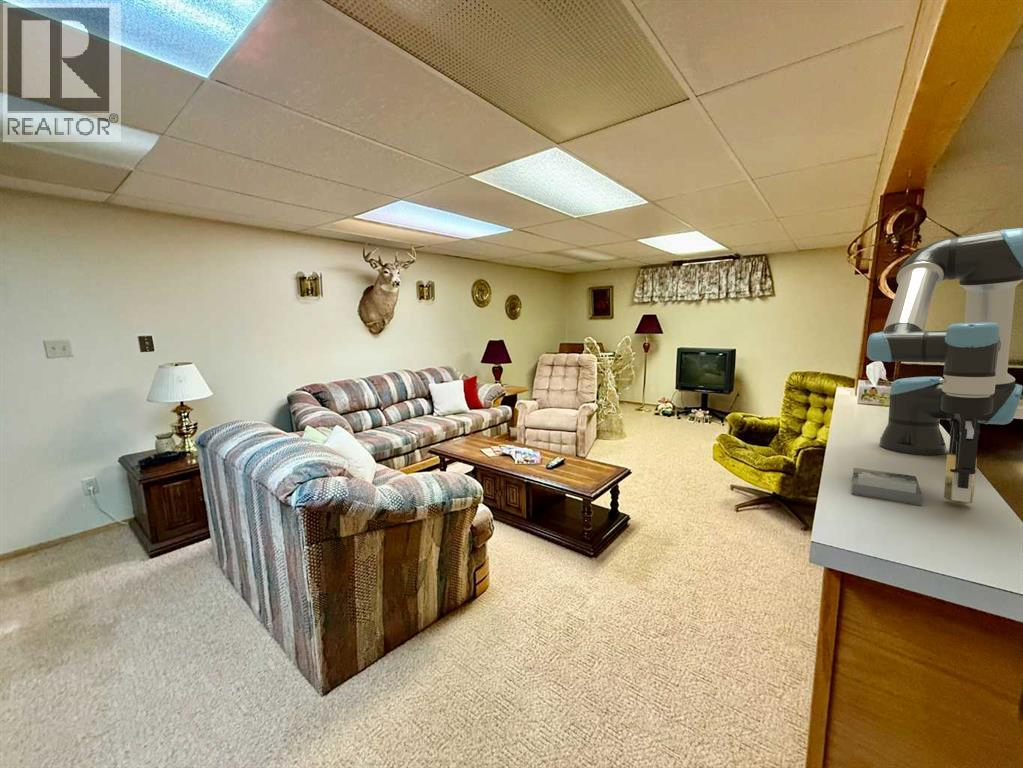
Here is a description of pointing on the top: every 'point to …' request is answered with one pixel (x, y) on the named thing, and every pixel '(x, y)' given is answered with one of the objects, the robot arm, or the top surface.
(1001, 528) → the top surface
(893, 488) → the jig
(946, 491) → the brass rounded cylinder
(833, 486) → the top surface
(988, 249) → the robot arm
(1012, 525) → the top surface
